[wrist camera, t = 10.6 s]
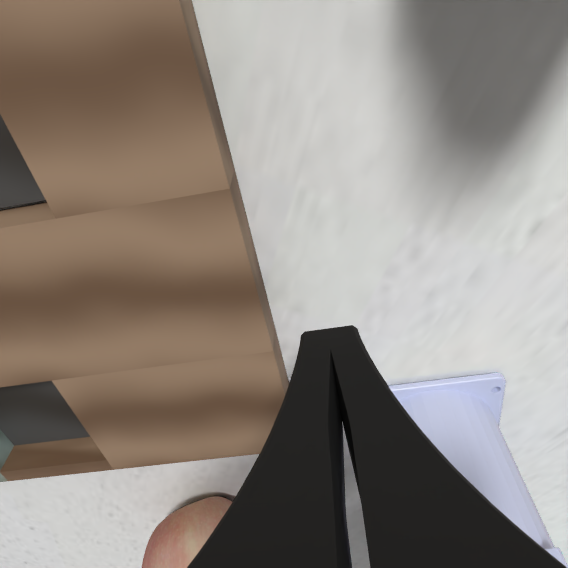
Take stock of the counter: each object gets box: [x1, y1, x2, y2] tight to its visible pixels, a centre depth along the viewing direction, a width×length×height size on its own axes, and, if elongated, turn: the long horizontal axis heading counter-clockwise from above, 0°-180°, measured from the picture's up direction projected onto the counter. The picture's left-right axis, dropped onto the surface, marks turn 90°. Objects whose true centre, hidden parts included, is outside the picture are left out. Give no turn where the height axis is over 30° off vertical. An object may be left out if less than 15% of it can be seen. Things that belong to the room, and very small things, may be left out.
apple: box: [142, 496, 232, 568], centre depth 30 cm, size 8×8×8 cm
